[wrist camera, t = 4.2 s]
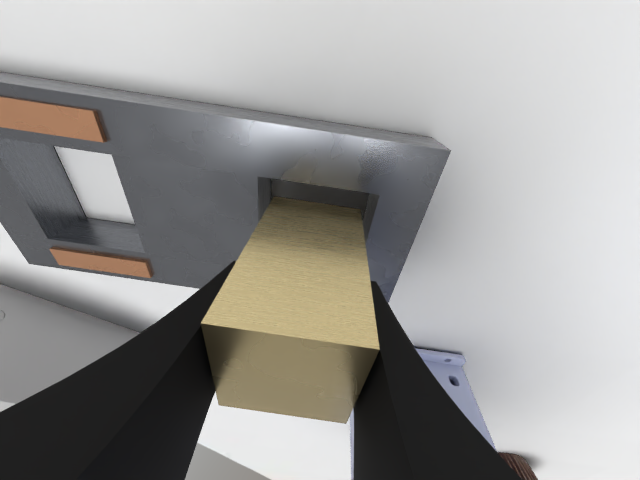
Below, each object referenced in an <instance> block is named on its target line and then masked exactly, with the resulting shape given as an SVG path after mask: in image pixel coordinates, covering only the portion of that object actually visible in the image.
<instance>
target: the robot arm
mask: <svg viewBox="0 0 640 480" xmlns="http://www.w3.org/2000/svg"><path fill="white" fill-rule="evenodd" d="M235 263H236V261H233V262H232V263H230V264H229V265H228V266H227V267H226V268H225V269H223V270H222V271H221V272H220V273H219V274H218V275H216V276H215V277H214V278H213V279H212V280H210V281H209V282H208V283H207V284H206V285H205V286H203V287H202V288H201V289H200V290H198V291H197V292H196V293H195V294H193V295H192V296H191V297H190V298H188V299H187V300H186V301H185V302H183V303H182V304H181V305H179V306H178V307H176V308H175V309H174V310H172V311H171V312H170V313H168V314H167V315H166V316H164V317H163V318H162V319H160V320H159V321H157V322H156V323H155V324H153V325H152V326H150V327H149V328H147V329H146V330H144V331H143V332H141V333H140V334H138V335H137V336H135V337H134V338H132V339H130V340H129V341H127V342H126V343H124V344H123V345H121V346H119V347H118V348H116V349H115V350H113V351H111V352H110V353H108V354H106V355H104V356H103V357H101V358H99V359H98V360H96V361H94V362H93V363H91V364H89V365H87V366H86V367H84V368H82V369H80V370H79V371H77V372H75V373H73V374H72V375H70V376H68V377H66V378H65V379H63V380H61V381H59V382H57V383H55V384H53V385H51V386H49V387H47V388H46V389H44V390H42V391H40V392H38V393H36V394H34V395H32V396H30V397H28V398H27V399H25V400H23V401H21V402H19V403H17V404H15V405H13V406H11V407H9V408H7V409H5V410H3V411H1V412H0V480H185V477H186V473H187V471H188V468H189V464H190V462H191V459H192V456H193V453H194V450H195V447H196V444H197V441H198V438H199V435H200V432H201V429H202V426H203V423H204V421H205V418H206V415H207V412H208V409H209V406H210V404H211V401H212V398H213V396H214V393H215V391H216V390H215V386H214V381H213V377H212V372H211V367H210V363H209V358H208V354H207V349H206V345H205V340H204V336H203V331H202V327H201V322H202V320H203V318H204V317H205V315H206V313H207V312H208V310H209V308H210V306H211V305H212V303H213V301H214V299H215V298H216V296H217V294H218V292H219V291H220V289H221V287H222V286H223V284H224V282H225V280H226V279H227V277H228V275H229V273H230V272H231V270H232V268H233V266H234V265H235ZM370 282H371V289H372V297H373V304H374V311H375V319H376V326H377V333H378V341H379V348H380V350H379V352H378V354H377V357H376V359H375V361H374V363H373V365H372V368H371V370H370V372H369V374H368V377H367V379H366V381H365V383H364V385H363V388H362V390H361V392H360V394H359V396H358V399H357V401H356V403H355V405H354V407H353V410H352V412H351V414H350V443H351V480H522V479H521V477H520V476H519V475H518V474H517V473H516V472H515V471H514V470H513V469H512V468H511V467H510V466H509V465H508V464H507V463H506V462H505V460H504V459H503V458H502V457H501V456H500V455H499V454H498V453H497V451H496V449H495V446H494V443H493V441H492V438H491V436H490V433H489V431H488V429H487V426H486V424H485V421H484V419H483V416H482V414H481V412H480V409H479V407H478V404H477V402H476V399H475V397H474V395H473V392H472V390H471V387H470V385H469V383H468V380H467V378H466V375H465V373H464V370H463V368H462V366H463V365H464V363H465V362H466V360H465V358H464V356H462V355H458V354H451V353H445V352H438V351H431V350H424V349H417V348H414V346H413V345H412V343H411V341H410V340H409V338H408V337H407V335H406V333H405V332H404V330H403V329H402V327H401V325H400V324H399V322H398V320H397V319H396V317H395V315H394V313H393V312H392V310H391V308H390V306H389V304H388V303H387V301H386V299H385V297H384V295H383V293H382V291H381V289H380V287H379V285H378V284H377V282H376V281H370Z"/></svg>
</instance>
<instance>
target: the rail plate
mask: <svg viewBox="0 0 640 480" xmlns="http://www.w3.org/2000/svg"><path fill="white" fill-rule="evenodd" d="M53 146H58V147H65V148H71V149H78V150H85V151H92V152H98V153H105V154H112V157H113V160H114V163H115V166H116V169H117V172H118V175H119V178H120V181H121V184H122V186H123V189H124V192H125V195H126V198H127V201H128V204H129V207H130V210H131V213H132V216H133V219H134V222H135V225H132V224H125V223H118V222H112V221H105V220H98V219H91V218H86V216H85V214H84V212H83V210H82V208H81V206H80V203H79V201H78V199H77V197H76V195H75V193H74V190H73V188H72V186H71V184H70V182H69V180H68V177H67V175H66V173H65V171H64V169H63V166H62V164H61V162H60V160H59V158H58V156H57V153H56V151H55V149H54V147H53ZM450 152H451V150H449V149H448V148H446V147H445V146H443V145H442V144H441V143H439V142H438V141H436V140H435V139H433V138H432V137H425V136H418V135H412V134H405V133H399V132H392V131H386V130H379V129H372V128H366V127H359V126H353V125H346V124H339V123H333V122H326V121H320V120H313V119H307V118H300V117H293V116H287V115H280V114H274V113H267V112H261V111H254V110H247V109H241V108H234V107H228V106H221V105H215V104H208V103H201V102H195V101H188V100H182V99H175V98H169V97H162V96H155V95H149V94H142V93H136V92H129V91H122V90H116V89H109V88H103V87H96V86H90V85H83V84H76V83H70V82H63V81H57V80H50V79H44V78H37V77H30V76H24V75H17V74H11V73H4V72H0V222H1V224H2V225H3V227H4V228H5V230H6V231H7V232H8V234H9V235H10V237H11V238H12V240H13V241H14V243H15V244H16V245H17V247H18V248H19V250H20V251H21V253H22V254H23V256H24V257H25V259H26V260H27V261H28V263H29V264H34V265H41V266H48V267H55V268H62V269H69V270H76V271H82V272H89V273H96V274H103V275H110V276H117V277H124V278H131V279H137V280H144V281H151V282H158V283H165V284H172V285H179V286H186V287H192V288H199V289H201V288H202V287H203V286H205V285H206V284H207V283H208V282H209V281H210V280H212V279H213V278H214V277H215V276H216V275H218V274H219V273H220V272H221V271H222V270H223V269H225V268H226V267H227V266H228V265H229V264H230V263H232V262H233V261H237V259H238V258H239V256H240V254H241V253H242V251H243V249H244V247H245V246H246V244H247V242H248V240H249V239H250V237H251V235H252V233H253V232H254V230H255V228H256V227H257V225H258V223H259V221H260V220H261V218H262V216H263V214H264V213H265V211H266V209H267V207H268V206H269V204H270V196H271V178H272V179H279V180H285V181H292V182H299V183H305V184H312V185H319V186H325V187H332V188H339V189H345V190H352V191H359V192H365V193H369V197H368V201H367V205H366V209H365V213H364V216H363V220H362V223H363V230H364V238H365V245H366V252H367V260H368V267H369V274H370V281H376V282H377V284H378V285H379V287H380V289H381V291H382V293H383V295H384V297H385V299H386V301H387V303H388V302H389V300H390V297H391V295H392V292H393V290H394V288H395V285H396V283H397V280H398V278H399V275H400V273H401V271H402V268H403V266H404V263H405V261H406V258H407V256H408V254H409V251H410V249H411V246H412V244H413V241H414V239H415V237H416V234H417V232H418V229H419V227H420V224H421V222H422V220H423V217H424V215H425V212H426V210H427V207H428V205H429V203H430V200H431V198H432V195H433V193H434V190H435V188H436V186H437V183H438V181H439V178H440V176H441V173H442V171H443V169H444V166H445V164H446V161H447V159H448V156H449V154H450Z"/></svg>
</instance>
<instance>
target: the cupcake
mask: <svg viewBox="0 0 640 480" xmlns="http://www.w3.org/2000/svg"><path fill="white" fill-rule="evenodd" d="M498 454H499V455H500V456H501V457H502V458H503V459H504V460H505V462H506V463H507V464H508V465H509V466H510V467H511V468H512V469H513V470H514V471H515V472H516V473H517V474H518V475H519V476H520V477H521V479H522V480H538V479H537V477H536V476H535V474H534V472H533V471H532V469H531V468H530V466H529V464H528V463H527V461H526V460H525V459H524V458H522V457H521V456H519V455H515V454H509V453H500V452H499V453H498Z"/></svg>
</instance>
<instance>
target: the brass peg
mask: <svg viewBox="0 0 640 480" xmlns="http://www.w3.org/2000/svg"><path fill="white" fill-rule="evenodd" d="M201 327H202V331H203V336H204V340H205V345H206V349H207V354H208V358H209V363H210V367H211V372H212V377H213V381H214V386H215V390H216V395H217V399H218V404H219V405H221V406H228V407H235V408H242V409H249V410H256V411H262V412H269V413H276V414H283V415H290V416H297V417H304V418H311V419H318V420H325V421H332V422H338V423H345V424H346V423H347V421H348V418H349V416H350V414H351V412H352V410H353V407H354V405H355V403H356V401H357V399H358V396H359V394H360V392H361V390H362V388H363V385H364V383H365V381H366V379H367V377H368V374H369V372H370V370H371V368H372V365H373V363H374V361H375V359H376V357H377V354H378V352H379V350H380V348H379V341H378V333H377V326H376V319H375V311H374V304H373V297H372V289H371V282H370V274H369V267H368V260H367V252H366V245H365V238H364V230H363V223H362V216H361V209H356V208H350V207H343V206H337V205H330V204H323V203H317V202H310V201H304V200H297V199H290V198H284V197H277V196H274V197H273V199H272V201H271V202H270V204H269V206H268V207H267V209H266V211H265V213H264V214H263V216H262V218H261V220H260V221H259V223H258V225H257V227H256V228H255V230H254V232H253V233H252V235H251V237H250V239H249V240H248V242H247V244H246V246H245V247H244V249H243V251H242V253H241V254H240V256H239V258H238V259H237V261H236V263H235V265H234V266H233V268H232V270H231V272H230V273H229V275H228V277H227V279H226V280H225V282H224V284H223V286H222V287H221V289H220V291H219V292H218V294H217V296H216V298H215V299H214V301H213V303H212V305H211V306H210V308H209V310H208V312H207V313H206V315H205V317H204V318H203V320H202V322H201Z"/></svg>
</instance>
